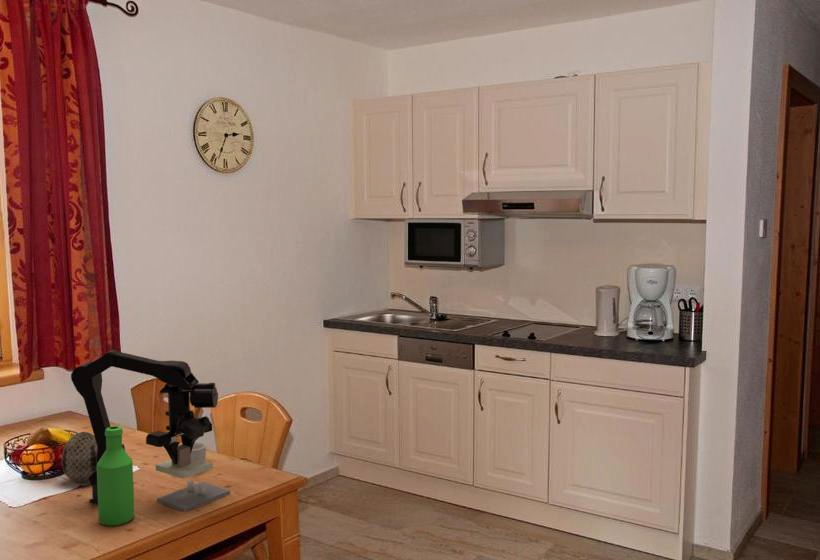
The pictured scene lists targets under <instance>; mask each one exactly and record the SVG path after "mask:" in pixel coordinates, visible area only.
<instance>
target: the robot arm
mask: <svg viewBox="0 0 820 560" xmlns="http://www.w3.org/2000/svg"><path fill="white" fill-rule="evenodd" d="M111 367H113V368H116V369H122V370H126V371H130V372H134V373H135V372H136V373H139V374H144V375H148V376H152V377H154V378H156V379H157V380H159V381H161V382H162V383H165V384H164V386H163V388H162V389H160V390H159V393H160V394H167V403H168V410H166V411H165V416H167V417H168V425H166V427H165V430H167V432H165V431H161V430H157V431H153V432H151V433H147V435H146V437H145V444H146V445H148V446H153V447H157V448H162V447H163V448H164V449H165V451H166V453H167V455H168V456H169V457H170V460H172V462H173V464H175V465H177V461H178V454H177V447H178V446H179V445H185V446H189V447H190V454H191V451H192V448H193V445H194V443H195V442H197V440H198V439H199V438H202V437H204V435H205V434H206V433H210V432H212V431H213V423H212V422H211V421H210V418H209V417H208V416H207V415H204V416H203V417H202V416H201V417H198V418H197V417H195V413H194V410H191V406H192V407H194V408H195V409H197V408H198V409H199V408H201V409H203V408H209V409H211V408H213V409H214V408H216V407H217V406H218V402H219V401H218V400H219V392H218V390H217V387H216V383H215V382H207V383H205V382H203V383H200V381H199V380H198V378H197V377H196V376H195V375H194V374H193V373H192V370H191V367H190V366H189V364H188V363H187V362H185V361H183V360H182V361H181V360H158V359H157V360H156V359H151V358H147V357H144V356H140V355H135V354H131V353H127V352H121V351H119V350H116V349H111V350H110V351H107V352H105V353H104V354H103V355H102V356H101V357H99V358H97V359H95V360H94V361H87V362H85V363H82V364H81V365H79V366H77V367H75V368H74V369H73V370H72V372H71V373H70V380H71V382H72V384H73V386H74V389H75V390H76V392H77V393H79V395H80V396H81V397H82V398H83V401H84V405H85V408H86V412H87V414H88V419H89V422H90V425H91V429H92V433H93V435H94V436H95V440H96V444H97V456H96V463H98V462H99V460H100V458H101V457H102V455H103V454H104V452H105V451H106V436H105V430H106V429H107V428H109V427H112V426H111V422H110V420H109V416H108V412H107V408H106V404H105V403H104V399H103V394H102V389H103V388H102V387H103V375H102V373H103V372H105V371H106V370H108V369H109V368H111ZM177 437H180V440H181V442H180V441H177ZM180 443H181V444H180ZM122 448H123V449H124V450H125V451H126V448H125V444H124V443H122ZM88 482H89V483H90V485H91V491H92V493H91V494H92V498H90V499H88V500H89V501H88V502H90V503H92V504H95V505H97V506H98V489H97V470H96V471H95V472H94V473H93V474H92V475H91V476H90V477H89V481H88Z"/></svg>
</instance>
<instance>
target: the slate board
mask: <svg viewBox="0 0 820 560" xmlns="http://www.w3.org/2000/svg"><path fill="white" fill-rule="evenodd" d="M228 495H231V490H230V489H226V488H223V487H220V486H217V485H214V484H211V483H207V482H205V481H201V482H198V483H195V480H193V479H189V480H187V486H186V487H184V488H181V489H178V490H177V491H173V492H170V493H168V494H165V495H162V496H160V497H157V498H156V502H157V503H158V504H162V505H165V506H167V507H170V508H172V509H175V510H178V511H181V512H183V513H186V512H188V511H190V510H194V509H196V508H197V507H201V506H203V505H206V504H208V503H211V502H213V501H216V500H218V499H220V498H223V497H226V496H228Z"/></svg>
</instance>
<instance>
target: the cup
mask: <svg viewBox="0 0 820 560" xmlns="http://www.w3.org/2000/svg"><path fill="white" fill-rule="evenodd" d="M206 454H207V444H206V443H204V442H201V441H195V443H194V445H193V448H192V451H191V454H190V457H191V460H193V459H196V458H197V459H200V464H203V463H205V462H206V456H207V455H206Z"/></svg>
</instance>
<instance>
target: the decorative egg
mask: <svg viewBox="0 0 820 560" xmlns="http://www.w3.org/2000/svg"><path fill="white" fill-rule="evenodd" d="M96 456H97V444H96V440H95V436H94V433H93V434H92V433H91V432H88V431H81V432H77V433H75V434H73V435H72V436H71V437H70V438H69V439H68V440H67V441H66V443H65V445H64V447H63V451H62V454H61V467H62V471H63V473H64V474H65V477H67V478H68V479H70V480H71V481H73V482H75V483H81V484H82V483H87V482H90V481H89V477H90V476H91V475H92V474H93V473H94V472H95V471H96V470H97V463H96Z"/></svg>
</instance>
